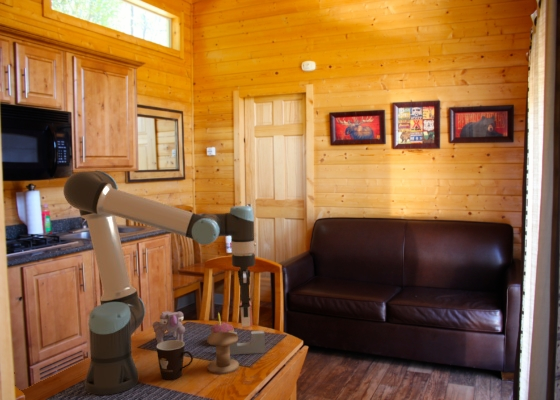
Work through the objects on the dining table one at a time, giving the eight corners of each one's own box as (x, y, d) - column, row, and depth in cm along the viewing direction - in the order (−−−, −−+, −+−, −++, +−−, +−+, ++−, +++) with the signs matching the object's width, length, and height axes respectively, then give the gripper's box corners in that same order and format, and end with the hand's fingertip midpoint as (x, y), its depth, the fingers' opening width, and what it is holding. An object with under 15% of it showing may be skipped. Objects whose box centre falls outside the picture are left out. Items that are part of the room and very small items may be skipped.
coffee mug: (152, 375, 152) (151, 344, 152) (177, 368, 158) (176, 338, 157) (170, 388, 144) (169, 355, 143) (195, 379, 149) (194, 347, 148)
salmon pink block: (241, 327, 158) (240, 306, 158) (241, 322, 163) (240, 301, 163) (252, 326, 159) (251, 305, 158) (251, 321, 164) (250, 301, 163)
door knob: (206, 374, 153) (205, 343, 152) (208, 362, 163) (207, 332, 162) (238, 373, 153) (238, 342, 153) (238, 360, 163) (238, 331, 163)
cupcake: (224, 348, 175) (223, 315, 174) (206, 343, 179) (205, 311, 179) (238, 340, 182) (238, 309, 181) (220, 336, 187) (220, 306, 186)
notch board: (224, 354, 169) (223, 334, 168) (224, 352, 171) (224, 332, 171) (264, 352, 170) (264, 333, 169) (264, 350, 172) (264, 330, 172)
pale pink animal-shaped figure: (193, 352, 172) (189, 314, 170) (162, 358, 167) (159, 320, 166) (179, 334, 190) (177, 300, 189) (152, 340, 185) (149, 305, 184)
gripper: (256, 258, 151) (258, 331, 152) (253, 248, 169) (255, 314, 170) (232, 259, 150) (234, 333, 152) (231, 249, 168) (233, 315, 169)
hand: (245, 323), depth 161 cm, fingers closed on salmon pink block, 5 cm apart
